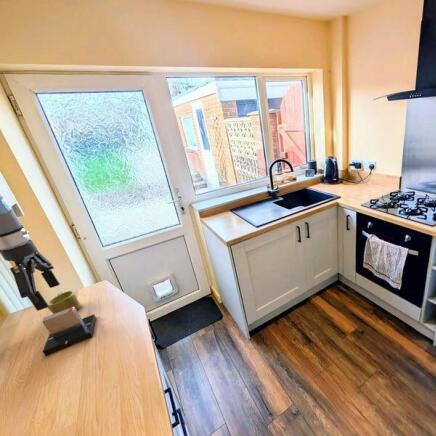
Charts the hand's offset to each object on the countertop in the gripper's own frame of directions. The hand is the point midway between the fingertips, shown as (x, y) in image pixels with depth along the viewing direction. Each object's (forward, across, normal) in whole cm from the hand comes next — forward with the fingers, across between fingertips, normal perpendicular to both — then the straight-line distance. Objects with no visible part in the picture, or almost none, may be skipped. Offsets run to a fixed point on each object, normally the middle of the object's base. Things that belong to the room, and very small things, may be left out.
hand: (49, 296), depth 86 cm
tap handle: (+18, +1, +1) cm, 18 cm away
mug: (+20, +21, +6) cm, 30 cm away
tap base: (+20, +1, +1) cm, 20 cm away
